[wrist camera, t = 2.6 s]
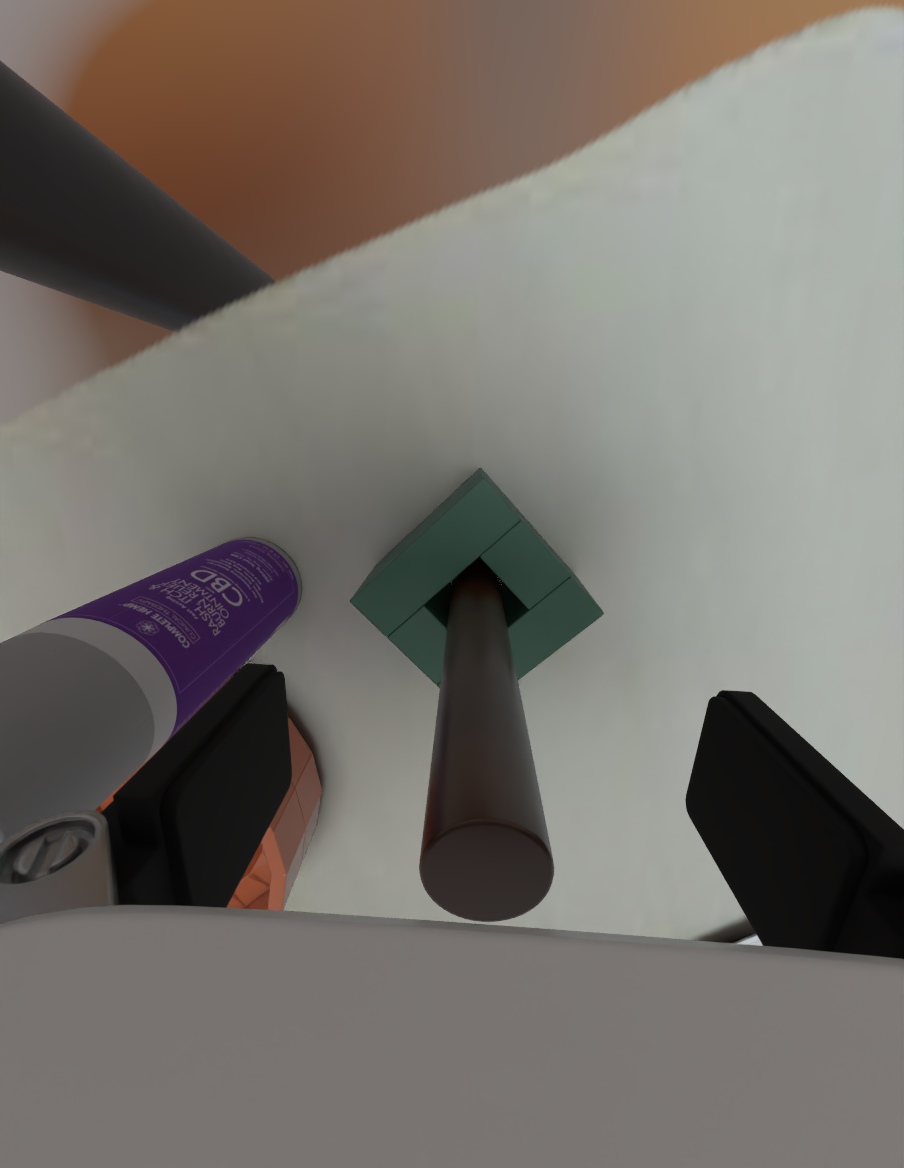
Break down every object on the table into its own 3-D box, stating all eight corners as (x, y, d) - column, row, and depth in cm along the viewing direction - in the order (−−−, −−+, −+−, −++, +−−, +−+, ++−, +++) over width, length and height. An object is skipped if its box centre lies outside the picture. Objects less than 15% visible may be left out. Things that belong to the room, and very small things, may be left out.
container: (307, 548, 22) (5, 761, 8) (296, 636, 23) (24, 950, 9) (210, 527, 22) (-283, 701, 8) (205, 616, 23) (-217, 905, 9)
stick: (445, 569, 22) (390, 869, 7) (476, 541, 22) (493, 798, 6) (473, 598, 22) (480, 943, 7) (504, 572, 22) (583, 881, 7)
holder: (374, 565, 22) (349, 601, 17) (480, 467, 20) (483, 476, 16) (469, 660, 23) (469, 718, 19) (575, 575, 22) (605, 614, 17)
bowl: (5, 760, 26) (-122, 849, 21) (161, 591, 23) (58, 642, 17) (214, 909, 30) (153, 1022, 24) (380, 781, 26) (355, 879, 20)
